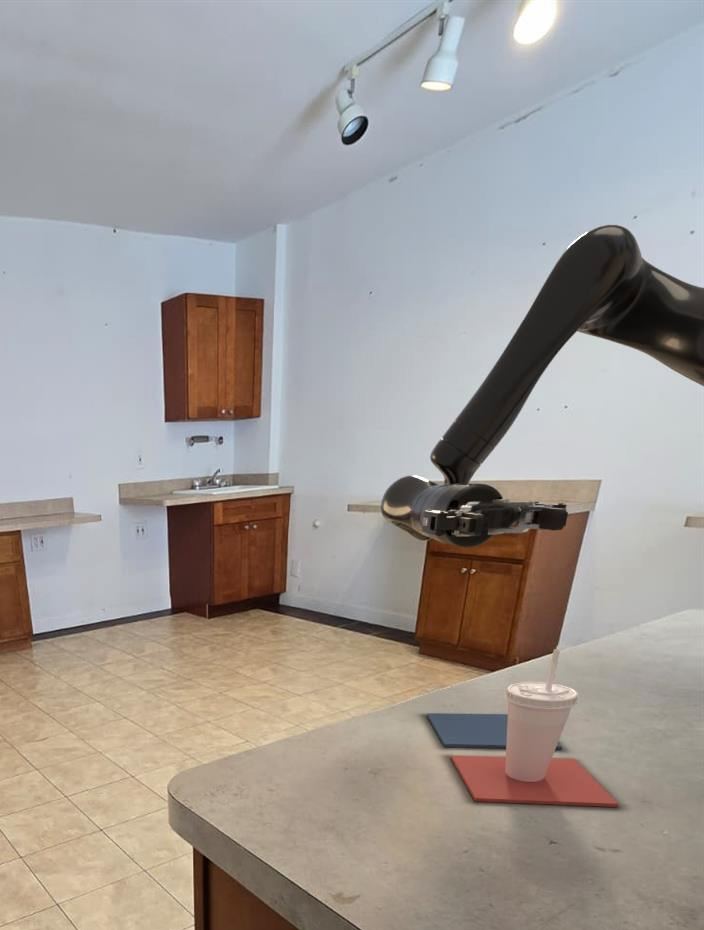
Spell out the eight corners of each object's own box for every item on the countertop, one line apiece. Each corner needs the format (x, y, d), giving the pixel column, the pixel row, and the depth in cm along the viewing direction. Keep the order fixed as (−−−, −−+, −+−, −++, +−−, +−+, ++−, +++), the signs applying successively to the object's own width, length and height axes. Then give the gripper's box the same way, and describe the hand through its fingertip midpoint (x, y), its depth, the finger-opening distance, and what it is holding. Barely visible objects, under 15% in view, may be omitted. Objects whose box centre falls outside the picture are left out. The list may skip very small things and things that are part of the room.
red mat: (573, 761, 73) (574, 758, 73) (617, 807, 63) (618, 803, 63) (450, 758, 76) (451, 755, 76) (474, 801, 66) (475, 798, 66)
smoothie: (564, 790, 66) (596, 658, 60) (495, 784, 68) (519, 656, 63) (552, 765, 72) (580, 642, 66) (488, 760, 74) (509, 641, 68)
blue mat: (530, 717, 86) (531, 714, 86) (561, 749, 76) (562, 746, 76) (426, 715, 89) (427, 713, 88) (444, 746, 79) (444, 743, 79)
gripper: (407, 487, 83) (457, 490, 68) (521, 479, 82) (598, 480, 67) (400, 547, 86) (448, 562, 71) (510, 540, 85) (582, 554, 70)
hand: (520, 522), depth 69 cm, fingers open, 8 cm apart
